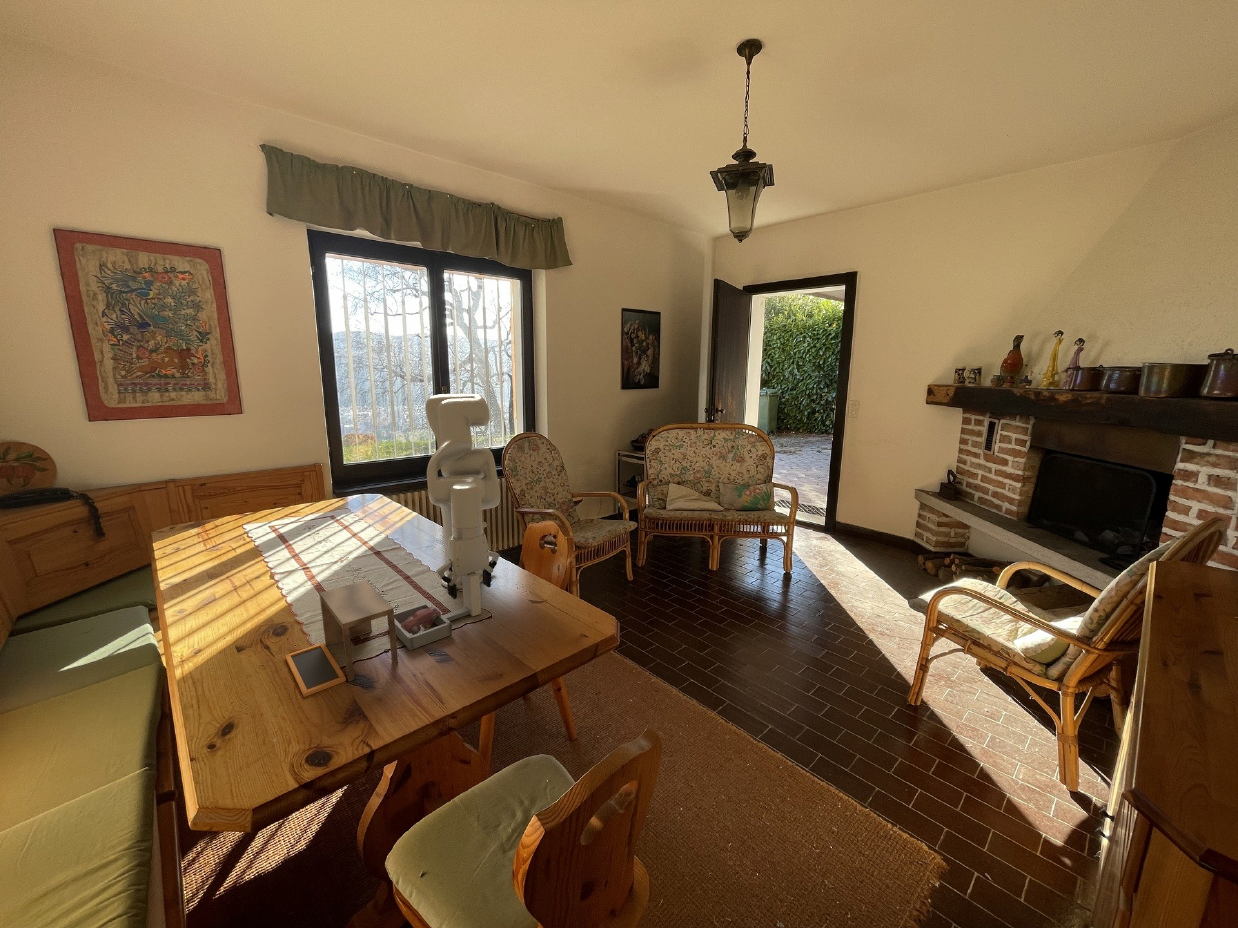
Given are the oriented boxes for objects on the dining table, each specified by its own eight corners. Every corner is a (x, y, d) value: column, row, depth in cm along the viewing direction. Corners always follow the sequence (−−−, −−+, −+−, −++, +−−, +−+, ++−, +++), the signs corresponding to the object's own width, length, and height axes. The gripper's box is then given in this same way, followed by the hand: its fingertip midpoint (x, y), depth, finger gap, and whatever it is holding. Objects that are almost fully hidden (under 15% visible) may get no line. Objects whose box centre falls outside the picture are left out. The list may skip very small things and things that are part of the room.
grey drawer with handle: (464, 600, 138) (462, 563, 136) (489, 619, 128) (488, 580, 126) (388, 626, 124) (384, 585, 122) (410, 650, 114) (406, 606, 112)
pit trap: (323, 645, 116) (323, 642, 116) (345, 680, 104) (345, 677, 103) (285, 658, 111) (285, 655, 111) (304, 697, 98) (303, 693, 98)
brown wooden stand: (370, 629, 123) (365, 580, 121) (398, 662, 110) (393, 607, 107) (325, 644, 117) (319, 592, 114) (349, 681, 103) (342, 624, 101)
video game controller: (404, 646, 119) (410, 626, 116) (393, 633, 120) (399, 613, 117) (439, 628, 127) (445, 609, 124) (428, 616, 128) (434, 597, 125)
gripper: (490, 519, 136) (492, 576, 140) (428, 534, 124) (432, 596, 128) (504, 526, 131) (506, 586, 135) (441, 543, 119) (445, 607, 123)
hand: (470, 591), depth 131 cm, fingers open, 9 cm apart
